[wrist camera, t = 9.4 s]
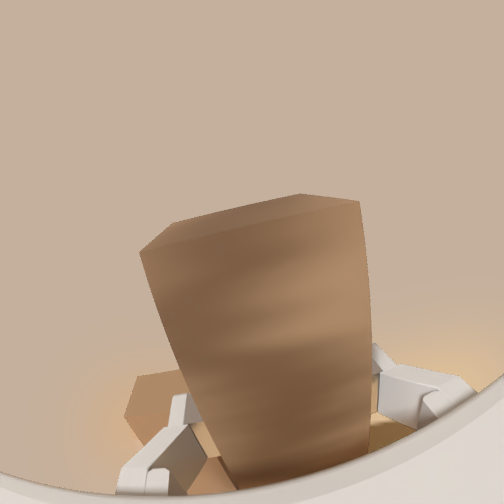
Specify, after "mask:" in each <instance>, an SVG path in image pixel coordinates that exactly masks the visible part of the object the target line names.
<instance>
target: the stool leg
mask: <svg viewBox="0 0 504 504" xmlns="http://www.w3.org/2000/svg"><path fill="white" fill-rule="evenodd" d="M139 253H140V257H141V260H142V263H143V267H144V270H145V273H146V276H147V280H148V283H149V286H150V288H151V292H152V295H153V298H154V301H155V304H156V307H157V310H158V313H159V315H160V318H161V321H162V323H163V326H164V329H165V332H166V335H167V337H168V340H169V342H170V345H171V348H172V350H173V352H174V355H175V358H176V360H177V363H178V365H179V368H180V370H181V372H182V375H183V377H184V379H185V382H186V384H187V386H188V389H189V391H190V393H191V396H192V398H193V400H194V402H195V404H196V407H197V409H198V411H199V413H200V415H201V417H202V419H203V421H204V423H205V425H206V428H207V430H208V432H209V434H210V436H211V438H212V440H213V442H214V443H215V445H216V447H217V449H218V451H219V453H220V455H221V457H222V459H223V461H224V462H225V464H226V466H227V468H228V470H229V471H230V473H231V475H232V477H233V479H234V480H235V482H236V484H237V485H238V487H239V489H247V488H252V487H258V486H263V485H268V484H272V483H277V482H281V481H285V480H289V479H293V478H297V477H301V476H305V475H308V474H312V473H315V472H318V471H321V470H325V469H328V468H331V467H334V466H337V465H340V464H342V463H345V462H348V461H351V460H353V459H356V458H359V457H361V456H364V455H366V454H368V444H369V432H370V417H371V416H370V415H371V396H372V332H371V309H370V308H371V307H370V292H369V278H368V267H367V257H366V247H365V239H364V231H363V223H362V216H361V209H360V203H359V201H354V200H347V199H339V198H332V197H323V196H315V195H307V194H297V195H292V196H287V197H282V198H277V199H273V200H269V201H264V202H259V203H255V204H250V205H246V206H241V207H237V208H233V209H228V210H224V211H220V212H216V213H212V214H207V215H203V216H199V217H195V218H191V219H187V220H183V221H179V222H175V223H172V224H171V225H170V226H169V227H167V228H166V229H165V230H164V231H163V232H162V233H161V234H159V235H158V236H157V237H156V238H155V239H154V240H152V242H150V243H149V244H148V245H147V246H146V247H145V248H143V249H142V250H141V251H140V252H139Z"/></svg>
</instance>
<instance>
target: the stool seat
mask: <svg viewBox="0 0 504 504" xmlns="http://www.w3.org/2000/svg"><path fill="white" fill-rule="evenodd" d="M184 393H190V391H189V389H188V386H187V384H186V382H185V379H184V377H183V375H182V372H181V370H174V371H168V372H163V373H156V374H150V375H143V376H138V377H137V379H136V382H135V385H134V388H133V391H132V394H131V397H130V400H129V403H128V406H127V409H126V412H125V415H124V417H125V419H126V420H127V422H128V423H129V425H130V426H131V428H132V429H133V431H134V432H135V434H136V435H137V437H138V438H139V440H140V441H141V442H142V444H143V445H144V446H145V445H146V444H147V443H148V442H149V441H150V440H151V439H152V438H153V437H154V436H155V435H156V434H157V433H158V432H159V431H161V430H162V429H163V428H164V427H168V422H169V416H170V410H171V403H172V398H173V396H174V395H177V394H184ZM207 459H208V460H207V462H206V463H205V465H204V466H203V468H202V469H201V471H200V473H199V474H198V476H197V477H196V479H195V480H194V482H193V483H192V485H191V486H190V488H189V489H188V491H187V493H188V495H199V494H210V493H219V492H227V491H234V490H240V489H239V487H238V485H237V484H236V482H235V480H234V479H233V477H232V475H231V473H230V471H229V470H228V468H227V466H226V464H225V462H224V461H223V459H222V457H221V456H217V457H211V458H207Z"/></svg>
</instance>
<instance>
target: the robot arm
mask: <svg viewBox="0 0 504 504" xmlns="http://www.w3.org/2000/svg"><path fill="white" fill-rule="evenodd" d="M375 412H378V413H380V414H382V415H384V416H386V417H388V418H390V419H392V420H395V421H397V422H399V423H401V424H403V425H406V426H408V427H410V428H412V429H415V430H416V432H414V433H412V434H410V435H408V436H406V437H404V438H402V439H400V440H398V441H396V442H394V443H391V444H389V445H387V446H385V447H383V448H380V449H378V450H376V451H373V452H371V453H369V454H366V455H364V456H361V457H359V458H356V459H353V460H351V461H348V462H345V463H342V464H340V465H337V466H334V467H331V468H328V469H325V470H321V471H318V472H315V473H312V474H308V475H305V476H301V477H297V478H293V479H289V480H285V481H281V482H277V483H272V484H268V485H263V486H258V487H252V488H247V489H240V490H234V491H227V492H219V493H210V494H199V495H188V493H187V491H188V489H189V488H190V486H191V485H192V483H193V482H194V480H195V479H196V477H197V476H198V474H199V473H200V471H201V469H202V468H203V466H204V465H205V463H206V462H207V460H208V459H207V458H211V457H217V456H221V455H220V453H219V451H218V449H217V447H216V445H215V443H214V442H213V440H212V438H211V436H210V434H209V432H208V430H207V428H206V425H205V423H204V421H203V419H202V417H201V415H200V413H199V411H198V409H197V407H196V404H195V402H194V400H193V398H192V396H191V393H184V394H177V395H174V396H173V398H172V403H171V410H170V416H169V422H168V427H164V428H163V429H162V430H161V431H159V432H158V433H157V434H156V435H155V436H154V437H153V438H152V439H151V440H150V441H149V442H148V443H147V444H146V445H145V446H144V447H143V448H142V449H141V450H140V451H139V452H138V453H137V454H136V455H135V456H134V457H133V458H132V459H130V460H129V461H128V462H127V463H126V464H125V465H124V466H123V467H122V468H121V472H120V476H119V481H118V484H117V489H116V494H115V495H111V494H101V493H92V492H85V491H78V490H72V489H66V488H61V487H55V486H50V485H46V484H41V483H38V482H34V481H30V480H25V479H22V478H19V477H16V476H12V475H9V474H6V473H3V472H0V504H504V374H503V375H502V376H500V377H499V378H498V379H497V380H495V381H494V382H493V383H491V384H490V385H489V386H487V387H486V388H485V389H483V390H482V391H481V392H479V393H477V392H476V391H475V390H474V389H473V388H472V387H471V386H469V385H468V384H467V383H466V382H465V381H464V380H463V379H462V378H460V377H459V376H456V375H451V374H446V373H441V372H436V371H432V370H427V369H422V368H417V367H413V366H409V365H404V364H399V365H397V364H396V363H395V362H394V361H393V360H392V359H391V358H390V357H389V356H388V355H387V354H386V353H385V352H384V351H383V350H382V349H381V348H380V347H379V346H378V345H377V344H376V343H372V396H371V414H373V413H375Z"/></svg>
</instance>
